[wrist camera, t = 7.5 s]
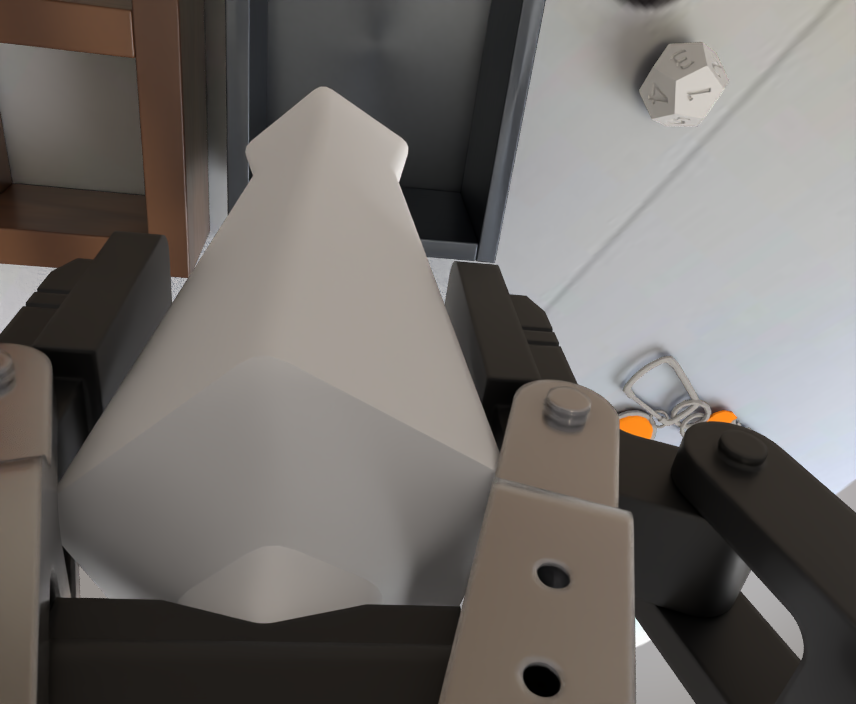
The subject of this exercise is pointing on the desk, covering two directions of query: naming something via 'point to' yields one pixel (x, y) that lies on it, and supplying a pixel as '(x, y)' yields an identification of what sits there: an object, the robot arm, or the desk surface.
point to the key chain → (644, 422)
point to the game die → (684, 85)
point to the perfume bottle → (294, 404)
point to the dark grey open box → (398, 95)
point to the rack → (159, 121)
